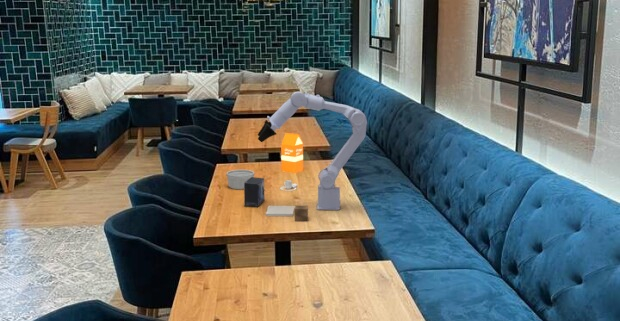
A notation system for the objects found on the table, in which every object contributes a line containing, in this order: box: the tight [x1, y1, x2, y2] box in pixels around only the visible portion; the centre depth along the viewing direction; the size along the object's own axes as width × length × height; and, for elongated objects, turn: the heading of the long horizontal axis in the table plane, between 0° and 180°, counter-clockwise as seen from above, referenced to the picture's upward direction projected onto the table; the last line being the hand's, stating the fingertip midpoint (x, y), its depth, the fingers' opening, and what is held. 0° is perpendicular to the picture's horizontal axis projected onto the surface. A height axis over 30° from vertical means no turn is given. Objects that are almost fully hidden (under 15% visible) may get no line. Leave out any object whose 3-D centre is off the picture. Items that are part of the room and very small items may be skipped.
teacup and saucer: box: [279, 179, 298, 192], centre depth 280 cm, size 9×8×4 cm
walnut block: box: [294, 204, 309, 222], centre depth 235 cm, size 5×5×5 cm
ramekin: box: [226, 169, 255, 190], centre depth 283 cm, size 13×13×7 cm
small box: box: [243, 176, 265, 208], centre depth 255 cm, size 11×6×10 cm, turn 168°
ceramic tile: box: [265, 205, 295, 217], centre depth 244 cm, size 11×11×1 cm
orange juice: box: [280, 132, 304, 174], centre depth 313 cm, size 8×9×20 cm
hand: (259, 138), depth 243 cm, fingers open, 7 cm apart
